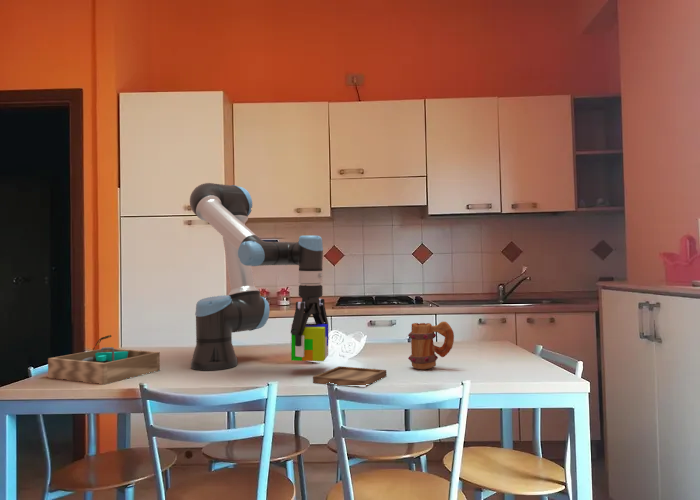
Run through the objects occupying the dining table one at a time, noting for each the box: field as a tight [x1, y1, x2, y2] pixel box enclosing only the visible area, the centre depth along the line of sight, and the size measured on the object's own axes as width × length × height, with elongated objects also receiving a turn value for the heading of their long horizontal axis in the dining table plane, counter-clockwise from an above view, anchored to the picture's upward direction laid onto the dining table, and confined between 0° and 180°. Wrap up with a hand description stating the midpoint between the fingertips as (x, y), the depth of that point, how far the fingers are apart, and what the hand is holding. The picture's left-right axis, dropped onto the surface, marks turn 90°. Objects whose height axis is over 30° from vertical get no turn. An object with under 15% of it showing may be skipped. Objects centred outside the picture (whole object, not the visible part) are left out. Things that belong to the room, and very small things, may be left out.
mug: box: [407, 320, 455, 370], centre depth 170 cm, size 15×8×15 cm, turn 68°
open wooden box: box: [47, 348, 161, 385], centre depth 172 cm, size 25×21×6 cm
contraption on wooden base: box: [82, 334, 128, 363], centre depth 172 cm, size 14×18×15 cm
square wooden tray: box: [312, 366, 387, 386], centre depth 157 cm, size 16×16×2 cm
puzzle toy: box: [290, 323, 329, 362], centre depth 170 cm, size 10×10×10 cm
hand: (310, 353), depth 170 cm, fingers closed on puzzle toy, 12 cm apart
